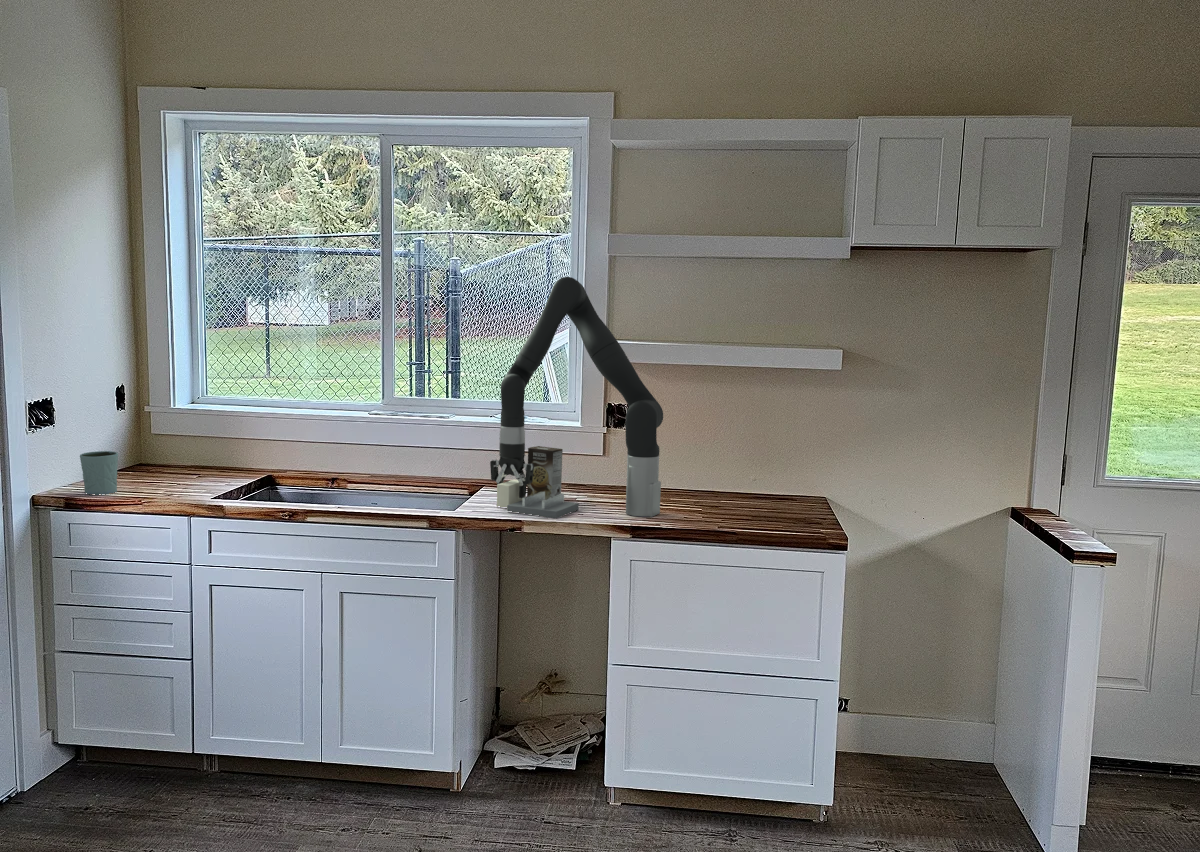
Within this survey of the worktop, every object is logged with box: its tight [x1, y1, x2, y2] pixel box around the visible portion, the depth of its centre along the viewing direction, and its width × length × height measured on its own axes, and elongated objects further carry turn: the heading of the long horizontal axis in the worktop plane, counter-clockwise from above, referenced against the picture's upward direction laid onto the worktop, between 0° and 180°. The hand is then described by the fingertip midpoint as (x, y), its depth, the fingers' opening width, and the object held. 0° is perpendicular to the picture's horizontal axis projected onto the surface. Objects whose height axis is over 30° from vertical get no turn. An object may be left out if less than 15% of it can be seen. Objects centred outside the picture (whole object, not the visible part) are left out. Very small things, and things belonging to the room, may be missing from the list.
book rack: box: [506, 491, 580, 519], centre depth 280 cm, size 16×14×4 cm
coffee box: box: [526, 445, 563, 499], centre depth 296 cm, size 9×6×16 cm
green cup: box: [79, 450, 119, 495], centre depth 289 cm, size 10×10×12 cm
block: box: [496, 479, 527, 507], centre depth 287 cm, size 4×10×7 cm, turn 155°
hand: (511, 496), depth 287 cm, fingers open, 6 cm apart
